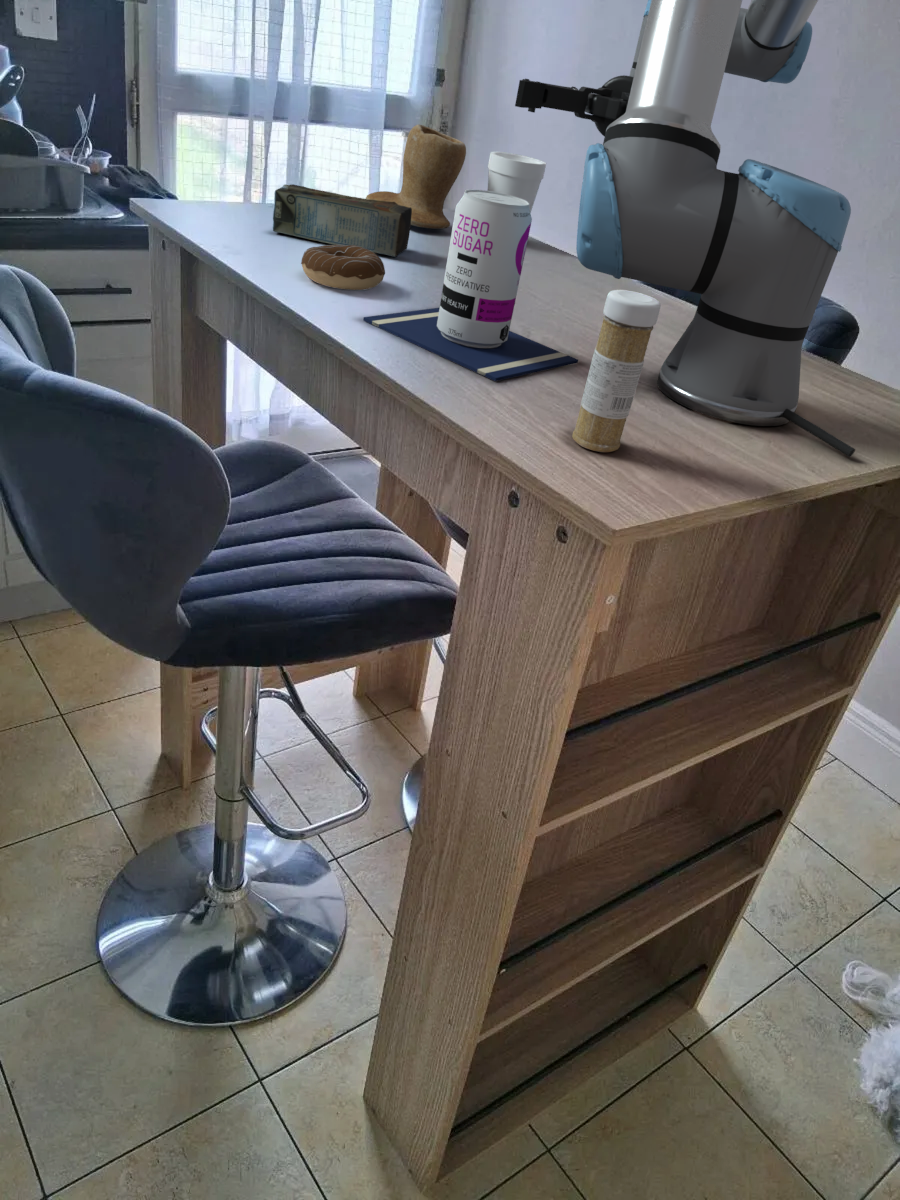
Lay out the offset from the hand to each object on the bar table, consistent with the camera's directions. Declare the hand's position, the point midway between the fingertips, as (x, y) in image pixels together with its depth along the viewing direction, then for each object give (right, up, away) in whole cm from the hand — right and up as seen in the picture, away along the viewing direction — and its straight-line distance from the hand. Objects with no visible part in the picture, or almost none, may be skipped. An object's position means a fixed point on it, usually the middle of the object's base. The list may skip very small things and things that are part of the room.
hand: (573, 105), depth 102 cm
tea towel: (-12, -27, 0) cm, 29 cm away
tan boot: (-20, +9, +53) cm, 57 cm away
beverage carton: (-30, -3, +31) cm, 44 cm away
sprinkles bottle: (-1, -42, -20) cm, 47 cm away
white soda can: (-12, -27, 0) cm, 29 cm away
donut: (-28, -16, +12) cm, 34 cm away
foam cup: (-5, +6, +54) cm, 54 cm away
